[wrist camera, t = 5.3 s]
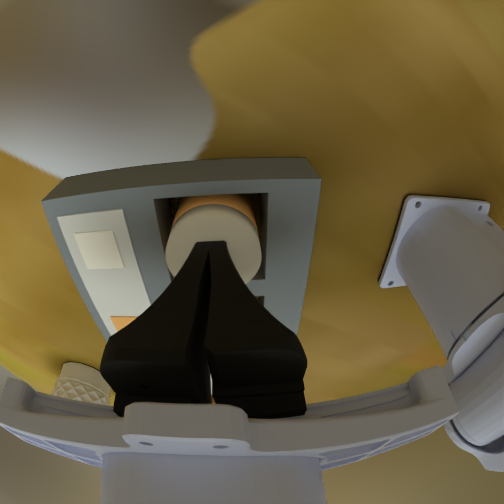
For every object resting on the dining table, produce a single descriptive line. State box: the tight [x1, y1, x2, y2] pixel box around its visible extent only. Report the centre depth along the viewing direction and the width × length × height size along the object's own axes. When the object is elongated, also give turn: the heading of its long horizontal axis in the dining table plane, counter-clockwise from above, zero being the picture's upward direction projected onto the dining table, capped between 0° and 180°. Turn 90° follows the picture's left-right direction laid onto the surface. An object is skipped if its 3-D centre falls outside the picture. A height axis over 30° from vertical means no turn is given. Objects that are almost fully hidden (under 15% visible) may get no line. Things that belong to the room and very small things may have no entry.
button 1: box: [165, 193, 261, 284], centre depth 15 cm, size 4×4×4 cm
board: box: [41, 158, 322, 342], centre depth 21 cm, size 14×26×3 cm, turn 0°
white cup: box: [51, 362, 112, 406], centre depth 24 cm, size 8×8×10 cm
